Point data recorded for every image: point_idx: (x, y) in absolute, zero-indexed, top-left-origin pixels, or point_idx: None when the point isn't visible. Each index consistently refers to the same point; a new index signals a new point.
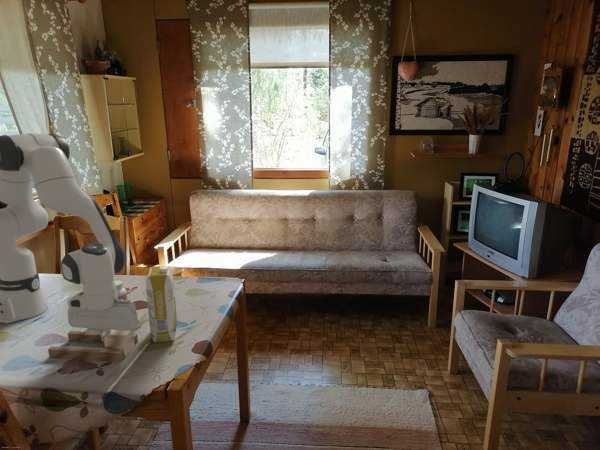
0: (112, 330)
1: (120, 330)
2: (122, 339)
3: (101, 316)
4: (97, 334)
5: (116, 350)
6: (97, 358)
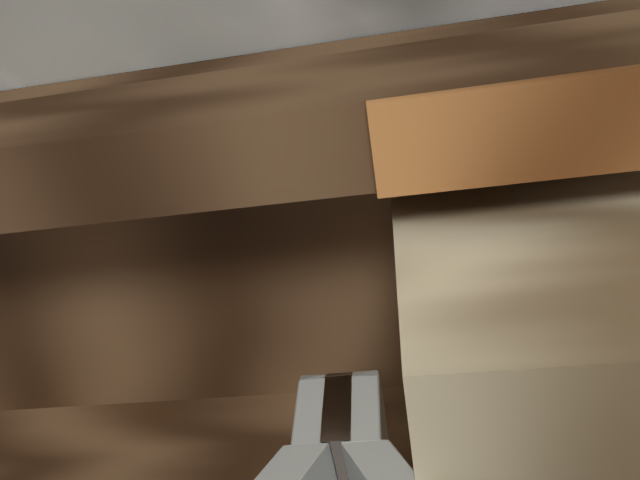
0: (437, 457)
1: (620, 438)
2: None
3: None
4: (28, 218)
5: None
6: None
